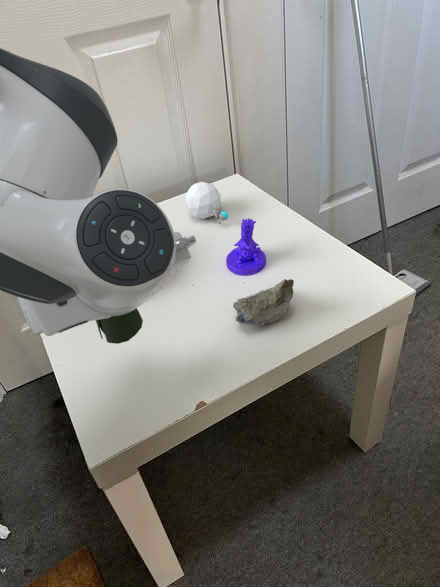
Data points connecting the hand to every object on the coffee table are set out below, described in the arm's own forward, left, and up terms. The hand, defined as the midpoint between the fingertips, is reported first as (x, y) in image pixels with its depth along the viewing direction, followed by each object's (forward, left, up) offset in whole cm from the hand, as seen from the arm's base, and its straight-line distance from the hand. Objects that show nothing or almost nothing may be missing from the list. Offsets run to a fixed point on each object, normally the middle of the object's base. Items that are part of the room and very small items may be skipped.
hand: (106, 289), depth 61 cm
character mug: (0, -1, -8) cm, 8 cm away
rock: (+23, +3, -19) cm, 30 cm away
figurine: (+26, +17, -19) cm, 37 cm away
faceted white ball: (+25, +35, -19) cm, 47 cm away
